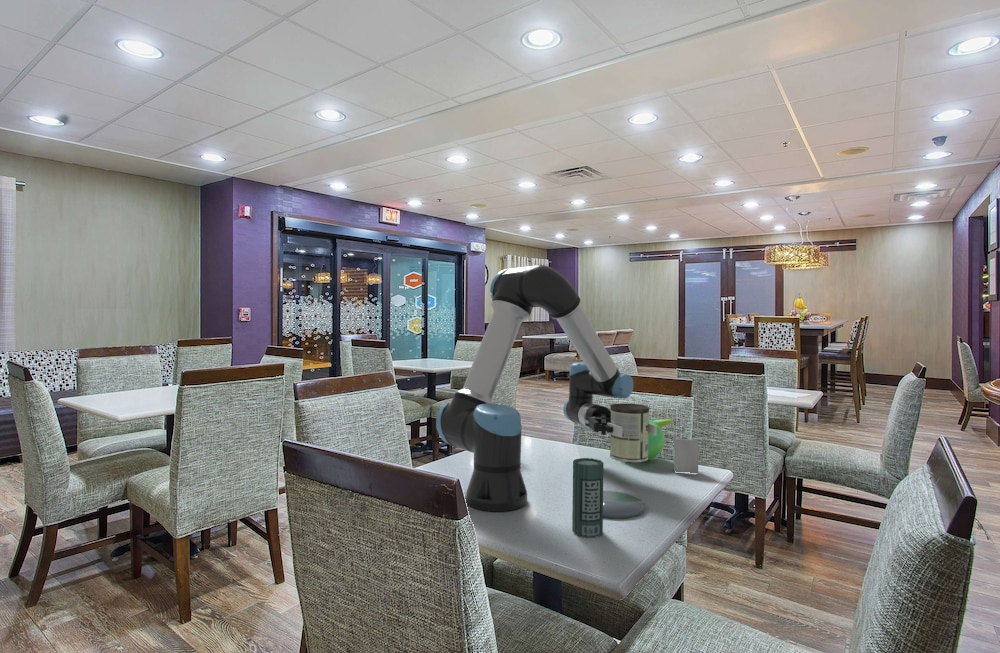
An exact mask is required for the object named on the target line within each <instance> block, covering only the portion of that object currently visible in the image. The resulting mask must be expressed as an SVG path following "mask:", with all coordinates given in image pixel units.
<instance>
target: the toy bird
mask: <svg viewBox="0 0 1000 653" xmlns="http://www.w3.org/2000/svg"><path fill="white" fill-rule="evenodd" d="M673 422H674V420H673V419H669V418H667V419H657V420H652V419H650V418H649V423H651V424H654V425H657V435H655V436H654V435H651V434H648V460H652V459H655V458H656V457H657V456H659V454H661V453H662V451H663V450H664V447H665V441H666V437H665V434H664V430H663V429H662V428H664V427H666V426H668V425H671V424H672V423H673Z"/></svg>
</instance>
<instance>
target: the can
mask: <svg viewBox="0 0 1000 653" xmlns="http://www.w3.org/2000/svg"><path fill="white" fill-rule="evenodd" d="M603 491H604V462H603V461H602V460H601V459H598V458H590V457H580V458H575V459H573V460H572V511H571V512H572V515H571V516H572V529H571V530H572V532H573V534H574V535H577V536H578V537H582V538H586V539H587V538H588V539H589V538H591V539H592V538H597V537H600V536H602V535H603V532H604V529H603V526H604V523H603V522H604V517H603Z"/></svg>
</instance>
